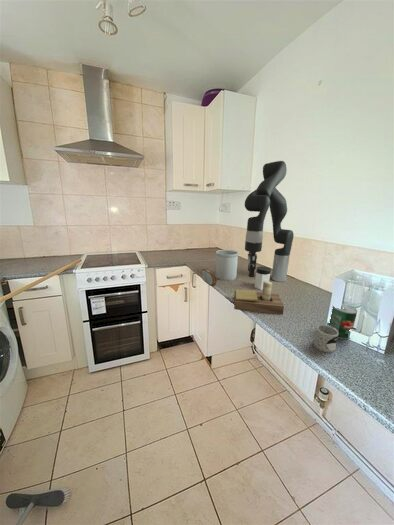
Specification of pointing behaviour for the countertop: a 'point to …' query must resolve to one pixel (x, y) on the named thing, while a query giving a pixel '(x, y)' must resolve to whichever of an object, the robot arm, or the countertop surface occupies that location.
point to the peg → (266, 291)
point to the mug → (325, 338)
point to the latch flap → (246, 295)
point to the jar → (262, 276)
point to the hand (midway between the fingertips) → (250, 273)
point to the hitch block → (261, 304)
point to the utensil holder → (226, 264)
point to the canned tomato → (342, 321)
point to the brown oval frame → (209, 277)
